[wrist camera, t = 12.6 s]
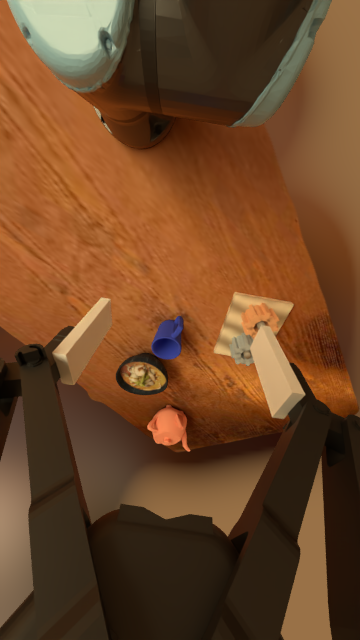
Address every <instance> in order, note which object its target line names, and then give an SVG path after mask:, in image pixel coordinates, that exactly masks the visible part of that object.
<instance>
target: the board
mask: <svg viewBox="0 0 360 640" xmlns="http://www.w3.org/2000/svg"><path fill="white" fill-rule="evenodd" d="M261 303H265V304H266V306H267V307H268V309H270V308H272V309H273V311H274V312H275V314H276V315H277V317H278V319H279V320H280V321H278V322H276V323H277V326H278V327H279V330H280V328H281V326H282V325H283V323H284V321H285V319H286V318H287V316H288V314H289V313H290V311H291V309H292V307H293V306H294V304H293V303H292V302H288V301H282V300H277V299H271V298H266V297H260V296H255V295H249V294H244V293H238V292H235V293H234V295H233V298H232V301H231V304H230V306H229V309H228V312H227V315H226V318H225V320H224V323H223V326H222V329H221V331H220V334H219V337H218V340H217V343H216V345H215V348H214V353H217V354H222V355H228V356H231V351H230V346H229V344H232V338H233V337H237V336H240V335H242V333H244V329H243V326H242V323H241V322H243V321H242V318H241V313H242V312H243V313H245V312H246V310H247V309H249V307H248V306H249V305H251V304H252V306H255V305H261ZM256 325H257V327H258V329H260V327H261V325H264V326H266V325H265V323H264V321H260V322H258V323H256ZM279 330H278V331H279ZM278 331H274V332H273V333H274V335H275V337H276V335H277V333H278ZM249 335H250V334H249ZM243 354H244V358H246V359H249V358H251V353H250V350H247V351H243Z"/></svg>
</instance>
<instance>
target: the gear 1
mask: <svg viewBox="0 0 360 640" xmlns="http://www.w3.org/2000/svg"><path fill="white" fill-rule="evenodd" d="M253 341H254V340H253V337H251V336H250V335H246V334H245V333H242V335H240V336H237V337H233V338H232V344H229V346H230V351H231V356H232V358H235V362H236V364H240V363H242V364H246V366H250V363H254V360H253V356H252V353H251V350H250V347H251V345H252V343H253ZM247 350H250V353H251V358H249V359H246V358H244V354H243V351H247Z"/></svg>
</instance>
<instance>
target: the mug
mask: <svg viewBox="0 0 360 640" xmlns="http://www.w3.org/2000/svg"><path fill="white" fill-rule="evenodd" d="M182 330H183V318H182V317H181V316H178V317H177V318H176V320H175V321H173V320H166V321H164V322H162V323H161V325H160V326H159V328H158V331H157V333H156V336H155V338H154V340H153V343H152V346H151V347H152V351H153V353H154V354H155V355H156V356H158V357H160V358H162V359H173V358H176V357H177V356H178V355H179V354H180V352H181V331H182Z"/></svg>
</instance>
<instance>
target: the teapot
mask: <svg viewBox="0 0 360 640" xmlns="http://www.w3.org/2000/svg"><path fill="white" fill-rule="evenodd" d="M186 424H187V418H186V416H185V414H184V413H183V411H179V410H177V409H174V408H172V406H171V405H166V408H163V409H161V410H160V411H158V412H157V413H156V415H155V416H154V417H153V420H151V421H150V422H149V424H148V430H150V431H152V432H153V437H154V440H155V442H156V443H157V444H160V443H162V444H164V445H173V444H175V443H177V442H179V441H180V440H181V439H182V443H183V447H184V448H185V449H186V450H187V451H190V449H189V448H188V446H187V434H186V430H185V428H186Z"/></svg>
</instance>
